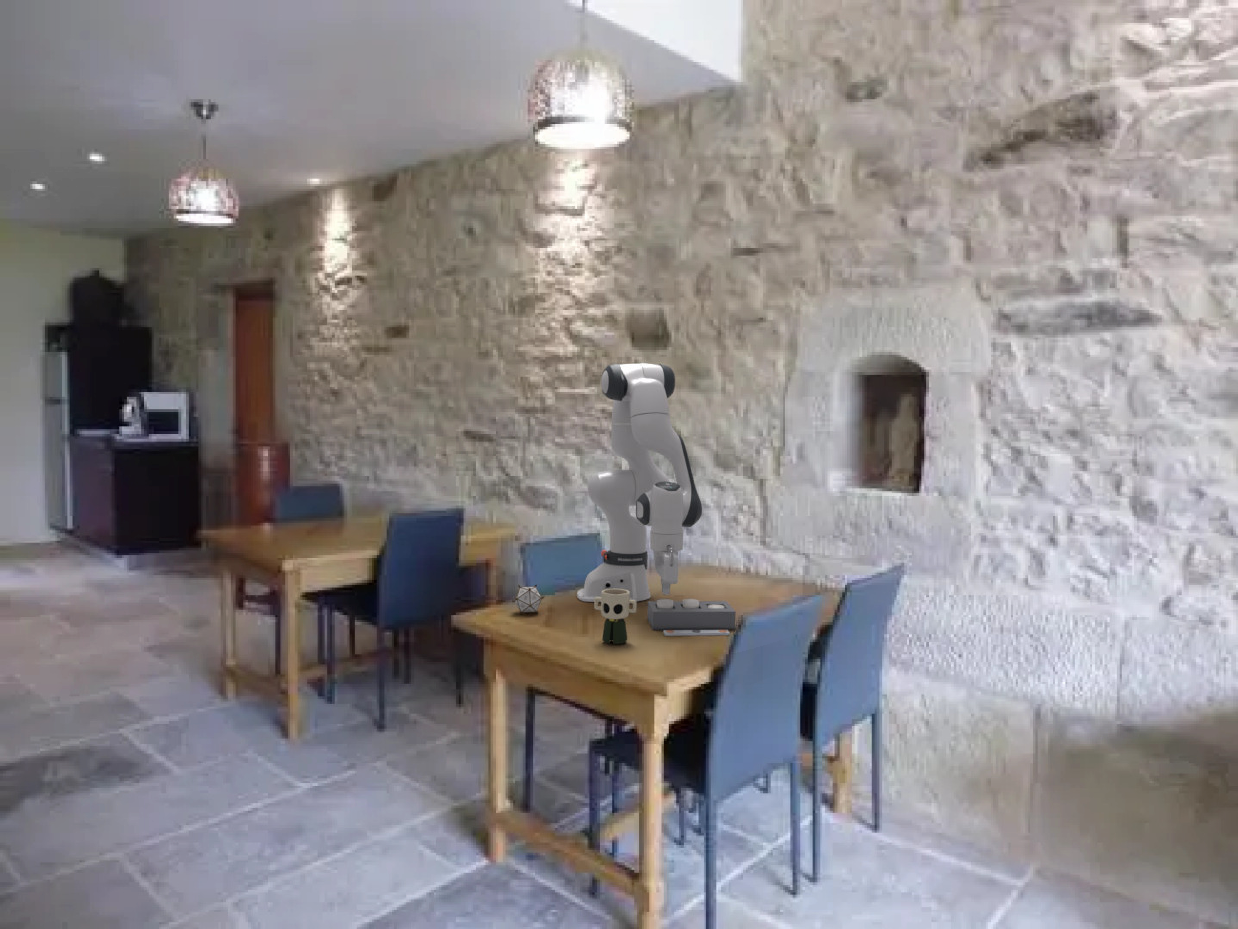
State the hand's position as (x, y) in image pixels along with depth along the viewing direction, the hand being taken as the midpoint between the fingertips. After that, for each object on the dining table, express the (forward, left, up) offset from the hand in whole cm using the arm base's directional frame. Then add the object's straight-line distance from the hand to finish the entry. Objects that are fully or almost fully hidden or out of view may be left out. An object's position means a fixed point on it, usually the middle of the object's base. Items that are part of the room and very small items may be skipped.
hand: (665, 593), depth 241 cm
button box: (+7, 0, -9) cm, 11 cm away
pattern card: (+7, -9, -9) cm, 14 cm away
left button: (0, 0, -5) cm, 5 cm away
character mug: (-15, -17, -9) cm, 24 cm away
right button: (+14, 0, -7) cm, 15 cm away
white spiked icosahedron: (-37, +13, -9) cm, 40 cm away
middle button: (+7, 0, -5) cm, 9 cm away
